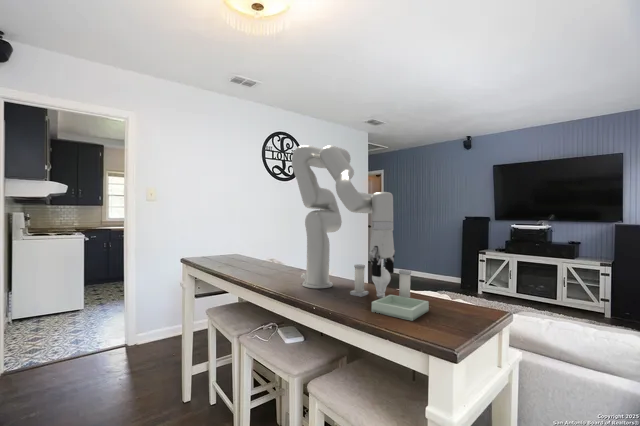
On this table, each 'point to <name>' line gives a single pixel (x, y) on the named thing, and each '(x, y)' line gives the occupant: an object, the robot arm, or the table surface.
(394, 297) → the tray
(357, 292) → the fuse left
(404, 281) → the post
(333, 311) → the table surface
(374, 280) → the light bulb
